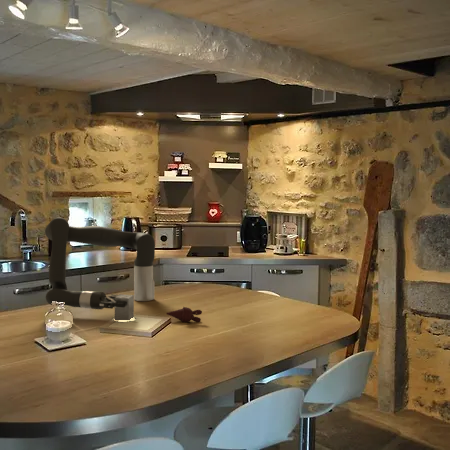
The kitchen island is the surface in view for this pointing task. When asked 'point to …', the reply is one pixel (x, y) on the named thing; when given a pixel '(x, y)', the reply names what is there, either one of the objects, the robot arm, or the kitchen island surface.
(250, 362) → the kitchen island surface
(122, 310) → the grey block
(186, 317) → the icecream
